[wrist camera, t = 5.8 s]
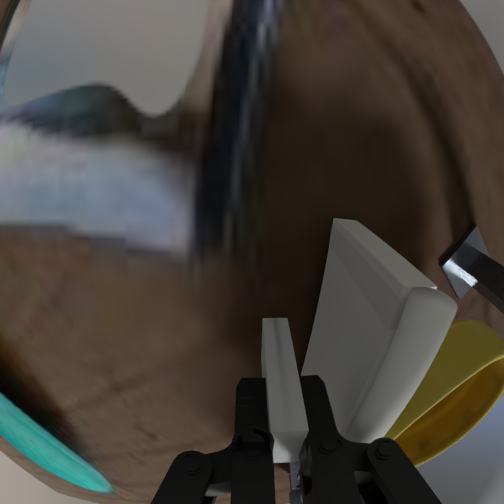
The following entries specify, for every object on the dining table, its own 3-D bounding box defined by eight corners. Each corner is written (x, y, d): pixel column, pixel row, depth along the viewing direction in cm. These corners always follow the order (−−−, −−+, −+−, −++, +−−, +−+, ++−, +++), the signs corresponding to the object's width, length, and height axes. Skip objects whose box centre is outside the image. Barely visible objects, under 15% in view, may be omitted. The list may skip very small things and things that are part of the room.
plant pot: (439, 244, 16) (540, 315, 7) (435, 345, 20) (491, 419, 11) (306, 300, 17) (362, 436, 8) (332, 393, 20) (366, 490, 11)
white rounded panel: (308, 421, 21) (322, 512, 12) (280, 421, 21) (287, 516, 12) (366, 221, 15) (478, 313, 6) (323, 216, 15) (414, 318, 6)
